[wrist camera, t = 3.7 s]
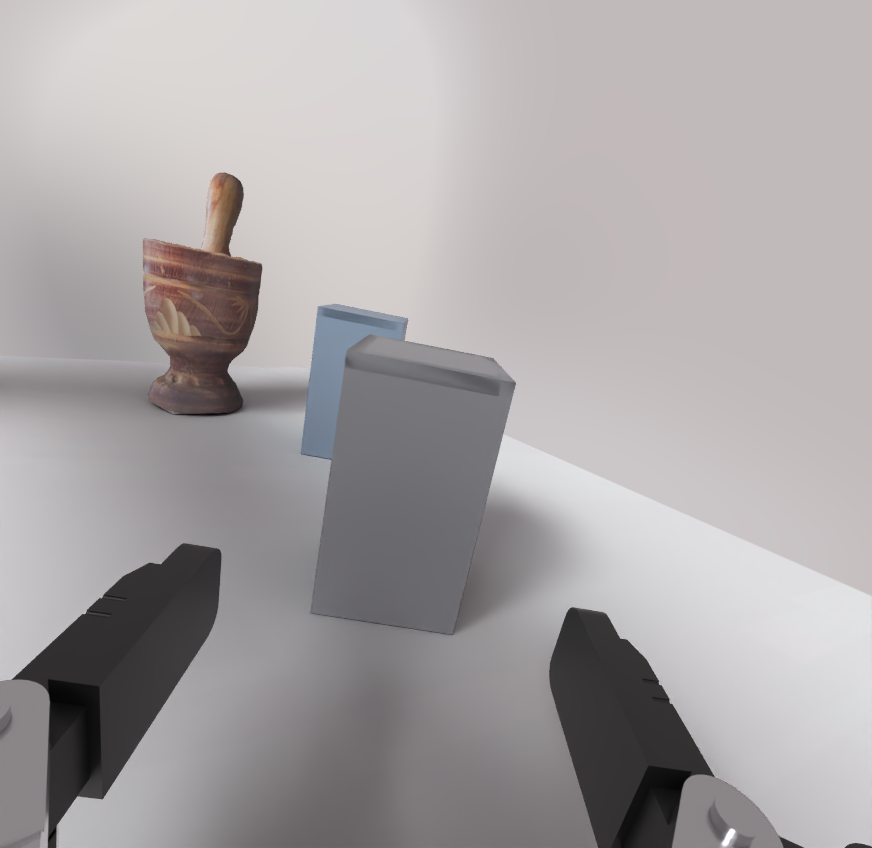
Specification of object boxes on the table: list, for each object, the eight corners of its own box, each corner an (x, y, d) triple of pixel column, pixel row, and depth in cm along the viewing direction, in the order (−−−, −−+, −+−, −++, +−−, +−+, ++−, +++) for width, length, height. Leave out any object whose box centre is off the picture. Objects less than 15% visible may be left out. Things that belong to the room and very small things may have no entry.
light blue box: (300, 453, 33) (318, 306, 30) (320, 429, 39) (335, 303, 36) (379, 467, 34) (404, 323, 31) (386, 441, 40) (408, 318, 37)
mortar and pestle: (140, 379, 43) (142, 151, 38) (236, 383, 48) (250, 182, 42) (142, 418, 34) (144, 125, 29) (260, 418, 39) (281, 169, 33)
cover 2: (310, 613, 18) (346, 350, 15) (339, 535, 24) (369, 334, 21) (452, 634, 19) (515, 382, 16) (447, 553, 24) (492, 358, 21)
